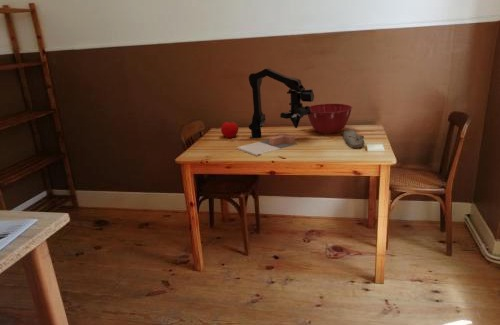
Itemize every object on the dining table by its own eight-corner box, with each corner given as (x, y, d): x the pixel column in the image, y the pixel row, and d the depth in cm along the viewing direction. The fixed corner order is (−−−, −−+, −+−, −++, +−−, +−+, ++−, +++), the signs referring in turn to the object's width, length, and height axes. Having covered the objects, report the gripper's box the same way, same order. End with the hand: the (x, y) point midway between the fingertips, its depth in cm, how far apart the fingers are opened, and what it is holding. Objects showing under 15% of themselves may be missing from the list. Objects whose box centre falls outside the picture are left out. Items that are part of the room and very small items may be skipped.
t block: (265, 143, 224) (265, 136, 222) (281, 139, 230) (281, 132, 229) (278, 147, 214) (278, 140, 213) (294, 143, 220) (294, 136, 219)
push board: (236, 148, 219) (236, 147, 219) (277, 139, 234) (277, 137, 234) (256, 156, 203) (256, 154, 203) (298, 145, 218) (298, 144, 218)
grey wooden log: (356, 135, 238) (340, 136, 240) (356, 127, 237) (339, 128, 238) (367, 148, 205) (348, 149, 206) (367, 138, 203) (348, 140, 205)
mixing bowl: (339, 139, 227) (340, 113, 222) (297, 134, 244) (297, 110, 239) (358, 128, 248) (359, 104, 243) (318, 125, 265) (318, 102, 260)
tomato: (218, 139, 243) (217, 123, 240) (225, 134, 255) (224, 119, 252) (235, 139, 240) (234, 123, 237) (241, 134, 251) (240, 119, 248)
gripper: (291, 105, 210) (292, 133, 215) (317, 100, 220) (317, 127, 225) (279, 103, 219) (280, 129, 224) (304, 98, 229) (304, 124, 233)
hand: (296, 127), depth 226 cm, fingers closed
